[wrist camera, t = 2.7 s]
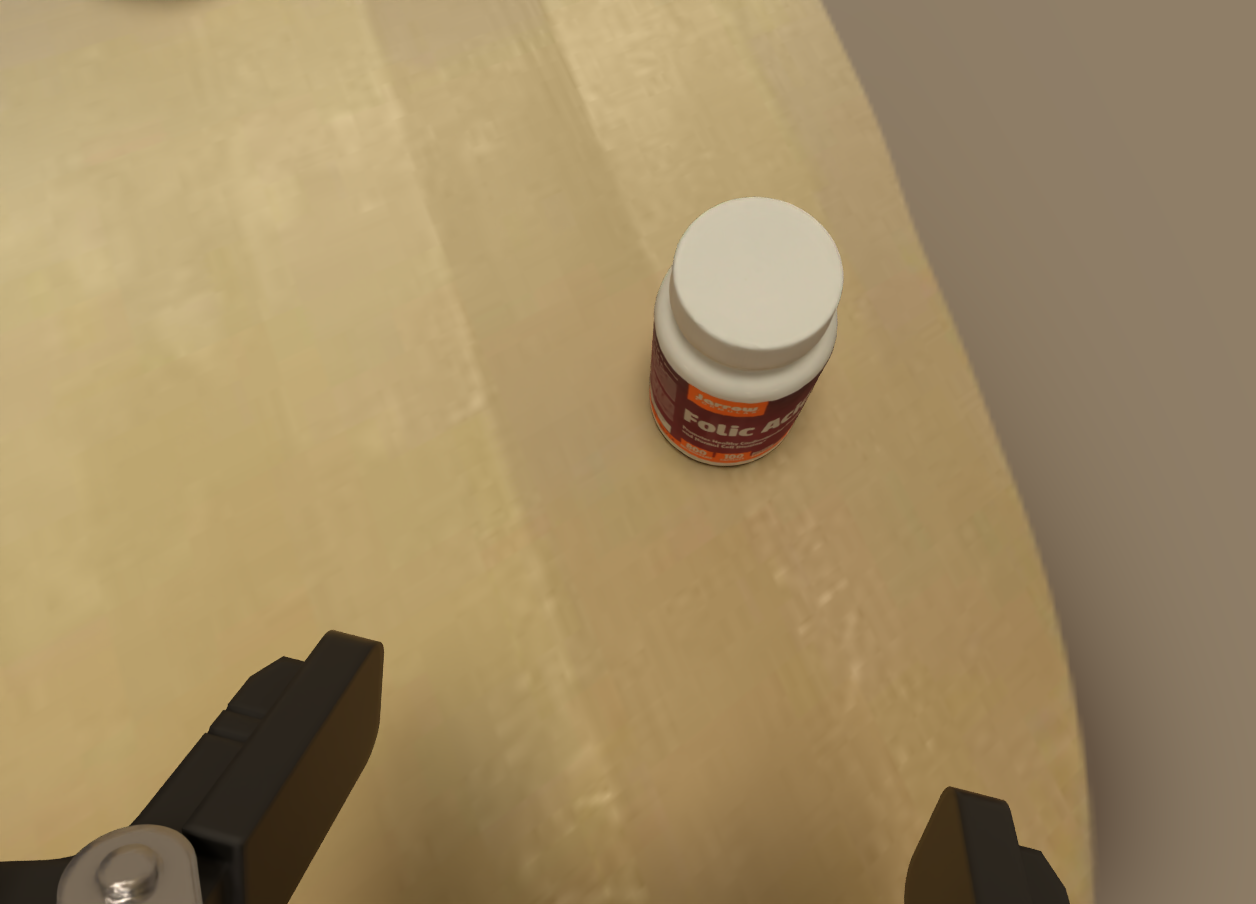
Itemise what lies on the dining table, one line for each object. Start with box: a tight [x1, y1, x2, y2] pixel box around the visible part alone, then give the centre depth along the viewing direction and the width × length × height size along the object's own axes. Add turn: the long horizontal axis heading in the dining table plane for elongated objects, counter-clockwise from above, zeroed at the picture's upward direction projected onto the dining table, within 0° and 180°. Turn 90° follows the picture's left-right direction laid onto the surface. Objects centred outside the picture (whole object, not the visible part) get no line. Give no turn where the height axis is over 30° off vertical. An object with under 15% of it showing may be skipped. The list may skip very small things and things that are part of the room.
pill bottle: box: [649, 197, 843, 466], centre depth 26 cm, size 5×5×8 cm
